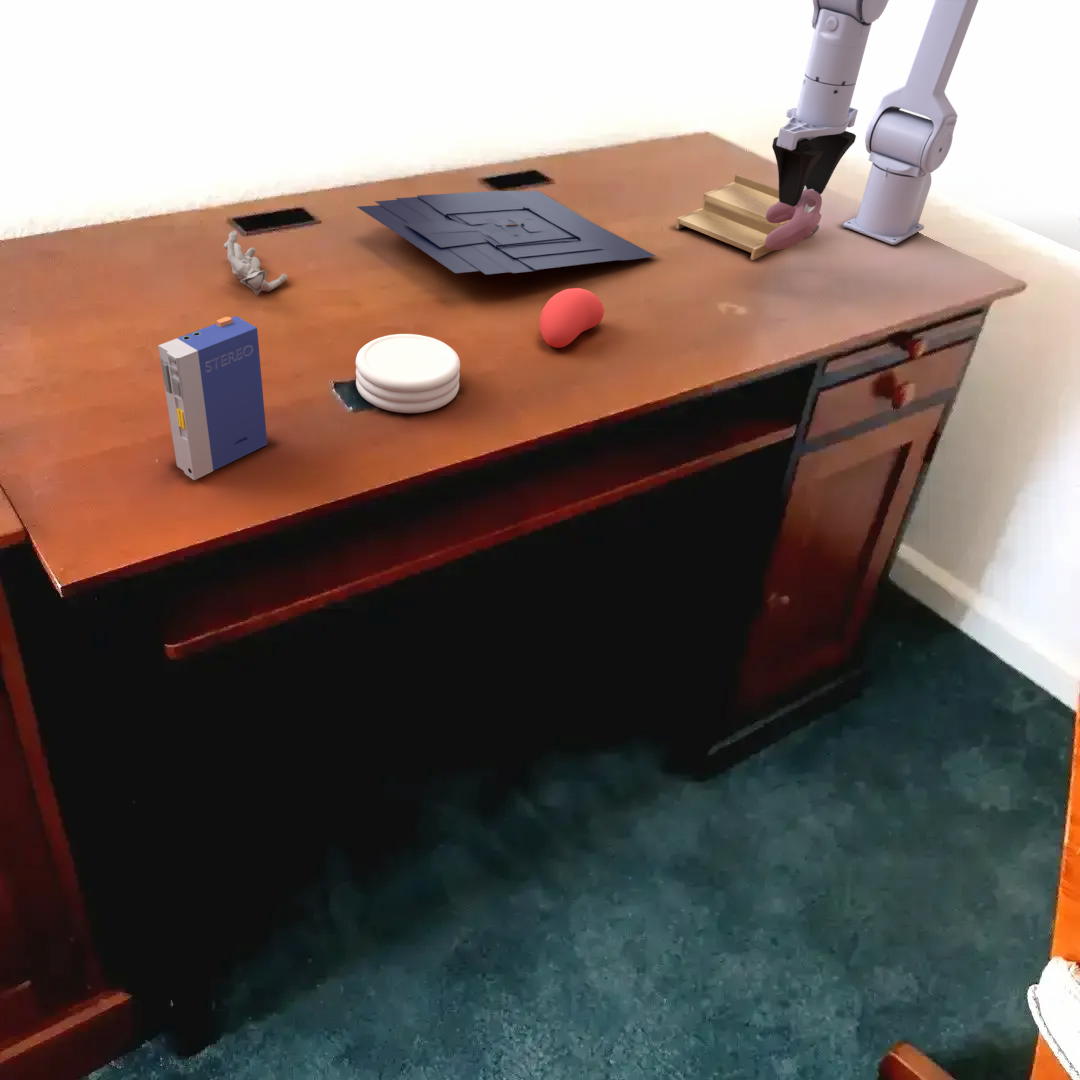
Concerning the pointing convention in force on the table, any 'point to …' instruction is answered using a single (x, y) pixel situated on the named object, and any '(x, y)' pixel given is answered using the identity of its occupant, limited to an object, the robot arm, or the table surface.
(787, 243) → the video game controller
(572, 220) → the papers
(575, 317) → the red kidney bean
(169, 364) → the walkman
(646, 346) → the table surface
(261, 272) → the soldier figure
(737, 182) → the step shelf
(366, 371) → the coaster
